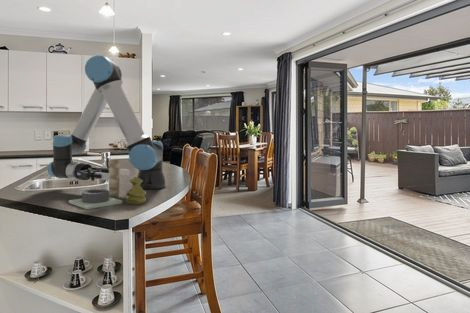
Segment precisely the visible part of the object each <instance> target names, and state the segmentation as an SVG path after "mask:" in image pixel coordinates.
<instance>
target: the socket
mask: <svg viewBox="0 0 470 313" xmlns="http://www.w3.org/2000/svg"><path fill="white" fill-rule="evenodd" d="M68 204H71V205H74V206H76V207H79V208H82V209H85V210H92V209H96V208H103V207H108V206H114V205H119V204H120V205H121V204H123V200H121V199H117V198H115V197H109V189H87V190H82V191H81V198H77V199H70V200H68Z"/></svg>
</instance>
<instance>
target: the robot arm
mask: <svg viewBox="0 0 470 313" xmlns="http://www.w3.org/2000/svg"><path fill="white" fill-rule="evenodd" d="M84 74H85V75H86V77H87V78H88V80H90V82H91V81H92V84H93V85H94V91H92V94H91V96H90V98H89V99H88V101H87V104H86V105H85V107H84V109H83V111H82V113H81V115H80V118H79V119H78V121H77V123H76V125H75V127H74V129H73V131H72V133H71V135H68V134H67V135H66V134H65V135H62V134H58V135H53V138H52V149H53V150H52V152H53V153H52V154H53V156H52V157H53V158H52V159H53V160H52V161H51V162H50V163H49V164H48V167H47V173H48V174H49V176H50V177H53V178H56V179H57V178H58V179H67V180H68V179H69V180H73V181H74V182H75V181H77V180H78V181H79V180H80V181H88V180H90V181H93V182H94V181H95V180H105V181H109V180H110V173H109V167H96V166H95V167H93V166H92V165H91V164H90V163H88V162H86V163H85V162H73V155H80V154H82V153H84V152H85V150H86V149H87V142H88V140H89V138H90V136H91V134H92V132H93V130H94V128H95V127H96V125H97V122H98V121H99V118H100V117H101V115H102V113H103V111H104V110H105V108H106V105H108V107H109V109H110V112H111V113H112V115H113V117H114V118H115V121H116V122H117V125H118V127H119V129H120V132H121V133H122V134H123V137H124V139H125V140H126V145H125V148H126V151H127V153H128V159H129V163H130V164H131V166H132V167H133V168H135V169H137V170H138V171H137V172H138V173H137V175H136V177H138V178H139V179H142V180H143V182H142V183H141V184H140V187H141V188H142V189H143V190H159V189H164V188H166V186H167V183H166V179H165V176H164V172H163V164H164V163H163V160H164V159H163V156H164V155H163V154H164V146H163V145H164V144H163V143H162V141H159V140H152V139H151V136H149V135H147V134H145V132H144V130H143V128H142V126H141V124H140V122H139V120H138V118H137V116H136V114H135V111H134V109H133V107H132V105H131V103H130V101H129V100H128V97H127V95H126V94H125V91H124V90H123V87H122V84H123V80H122V77H123V76H122V75H123V74H122V71H121V68H120V67H119V65H118V64H116V63H115V62H113V61H112V60H111V59H110V58H109V57H106V56H103V55H93V56H91V57H90V58H88V59H87V61H86V63H85V66H84ZM131 173H132V172H131V169H125V168H120V167H119V176H125V177H126V176H127V177H130V176H131V175H132V174H131Z"/></svg>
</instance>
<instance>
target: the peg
mask: <svg viewBox="0 0 470 313" xmlns="http://www.w3.org/2000/svg"><path fill="white" fill-rule="evenodd" d="M108 168H109V173H110V180H108V190H109V197H111V198H117V197H120V175H119V168H120V158H108Z"/></svg>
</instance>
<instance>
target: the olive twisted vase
mask: <svg viewBox="0 0 470 313" xmlns="http://www.w3.org/2000/svg"><path fill="white" fill-rule="evenodd" d="M142 182H143V180H142V179H139V178H138V177H137V176H136V177H133V178H131V179H130V180H129V183H131V184H132V186H131V187H130V188H129V189H128V190H127V191H126V192H125V193H126V204H128V205H143V204H145V203H147V199H146V198H147V197H146V194H147V191H146V189H142V188H141V187H140V184H141V183H142Z"/></svg>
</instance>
